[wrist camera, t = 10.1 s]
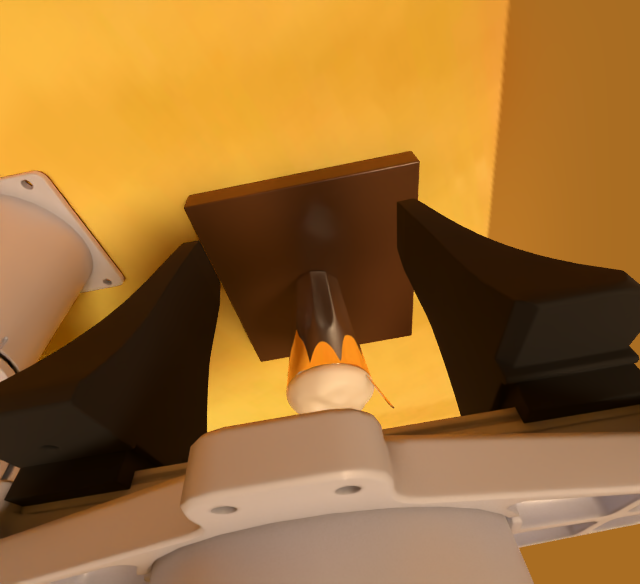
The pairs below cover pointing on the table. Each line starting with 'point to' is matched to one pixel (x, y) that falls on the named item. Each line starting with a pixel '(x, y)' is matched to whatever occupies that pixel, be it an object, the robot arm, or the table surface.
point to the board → (312, 246)
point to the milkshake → (325, 350)
